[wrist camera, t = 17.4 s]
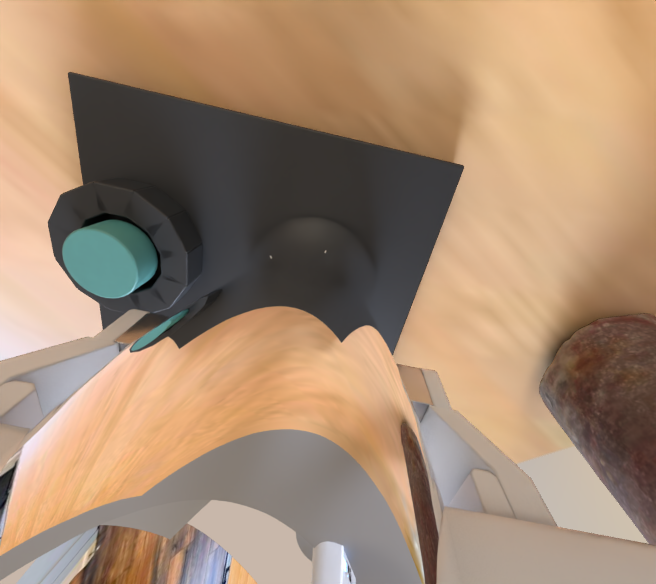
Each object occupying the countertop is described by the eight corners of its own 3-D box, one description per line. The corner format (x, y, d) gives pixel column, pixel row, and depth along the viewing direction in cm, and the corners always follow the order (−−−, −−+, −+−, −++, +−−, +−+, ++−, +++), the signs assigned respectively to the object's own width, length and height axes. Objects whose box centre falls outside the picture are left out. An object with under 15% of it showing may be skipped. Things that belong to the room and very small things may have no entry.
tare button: (157, 227, 13) (135, 237, 12) (159, 289, 14) (139, 305, 13) (86, 212, 13) (54, 220, 12) (95, 276, 14) (67, 290, 13)
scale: (454, 163, 14) (481, 168, 11) (374, 381, 19) (379, 419, 17) (82, 75, 13) (13, 57, 10) (112, 328, 19) (73, 359, 16)
